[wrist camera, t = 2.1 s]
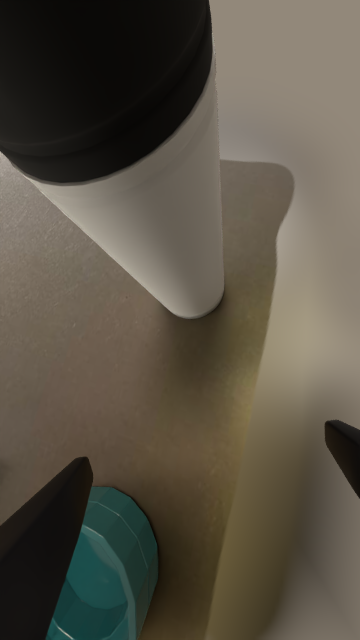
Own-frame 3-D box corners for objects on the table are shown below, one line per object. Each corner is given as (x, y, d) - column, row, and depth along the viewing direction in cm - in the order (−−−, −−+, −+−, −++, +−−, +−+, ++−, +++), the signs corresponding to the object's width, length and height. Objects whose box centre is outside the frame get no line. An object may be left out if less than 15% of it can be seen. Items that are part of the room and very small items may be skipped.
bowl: (176, 517, 18) (158, 571, 14) (135, 653, 17) (99, 764, 12) (78, 463, 21) (33, 493, 16) (36, 578, 20) (-25, 647, 15)
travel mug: (150, 308, 22) (-308, -19, 3) (176, 251, 23) (-76, -310, 4) (207, 332, 21) (-30, -44, 2) (234, 269, 21) (295, -545, 2)
